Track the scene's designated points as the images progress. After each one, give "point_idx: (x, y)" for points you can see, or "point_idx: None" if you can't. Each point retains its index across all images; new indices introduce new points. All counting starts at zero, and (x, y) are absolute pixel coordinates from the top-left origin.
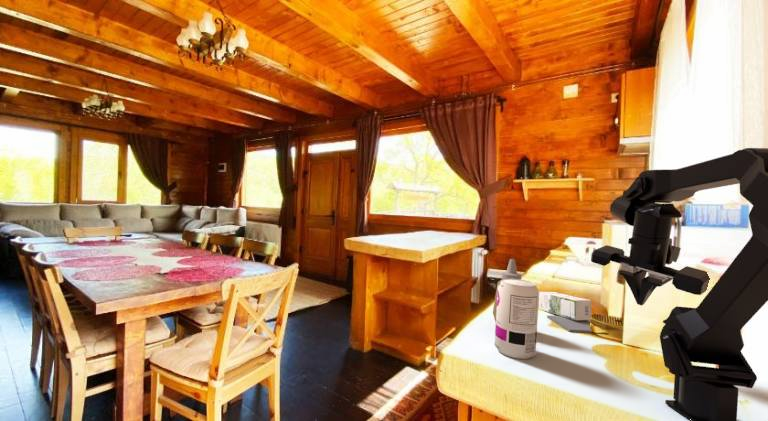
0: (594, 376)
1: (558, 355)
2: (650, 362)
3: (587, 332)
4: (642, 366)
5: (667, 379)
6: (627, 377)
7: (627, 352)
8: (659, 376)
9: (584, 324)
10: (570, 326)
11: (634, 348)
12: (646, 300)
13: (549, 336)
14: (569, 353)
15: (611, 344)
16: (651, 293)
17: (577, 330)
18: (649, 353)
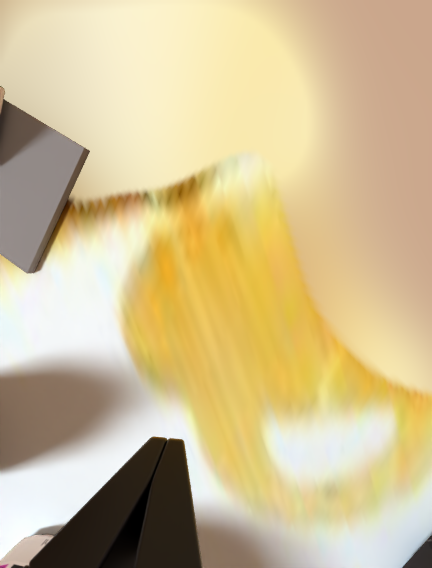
0: (223, 560)
1: None
2: (265, 299)
3: (58, 218)
4: (264, 361)
5: (339, 399)
6: (271, 490)
7: (195, 278)
8: (319, 397)
9: (18, 158)
10: (12, 236)
11: (192, 211)
12: (188, 474)
13: (32, 377)
14: (121, 459)
15: (141, 252)
16: (200, 557)
17: (39, 249)
18: (234, 209)
